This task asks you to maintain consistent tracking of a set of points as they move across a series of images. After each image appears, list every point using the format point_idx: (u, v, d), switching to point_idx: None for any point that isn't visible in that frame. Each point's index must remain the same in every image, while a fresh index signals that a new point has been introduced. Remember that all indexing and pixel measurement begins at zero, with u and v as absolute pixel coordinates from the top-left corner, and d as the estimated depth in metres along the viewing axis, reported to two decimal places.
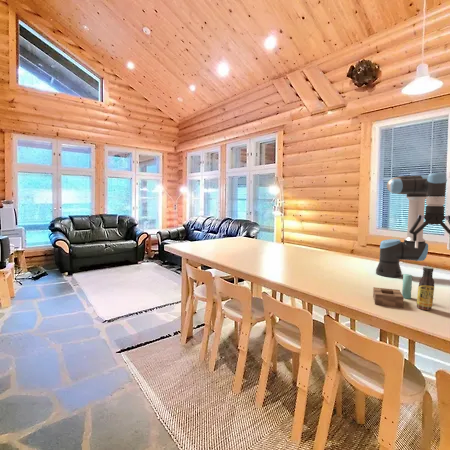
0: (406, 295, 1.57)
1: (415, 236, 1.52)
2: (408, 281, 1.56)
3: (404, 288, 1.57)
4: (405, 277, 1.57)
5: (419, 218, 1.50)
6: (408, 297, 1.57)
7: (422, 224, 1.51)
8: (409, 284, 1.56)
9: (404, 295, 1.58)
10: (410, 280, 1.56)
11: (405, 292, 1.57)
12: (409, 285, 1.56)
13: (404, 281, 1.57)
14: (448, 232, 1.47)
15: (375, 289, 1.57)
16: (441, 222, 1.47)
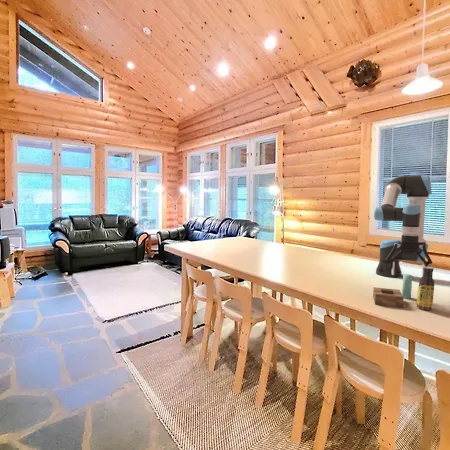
0: (406, 295, 1.57)
1: (391, 263, 1.59)
2: (408, 281, 1.56)
3: (404, 288, 1.57)
4: (405, 277, 1.57)
5: (395, 246, 1.57)
6: (408, 297, 1.57)
7: (398, 252, 1.58)
8: (409, 284, 1.56)
9: (404, 295, 1.58)
10: (410, 280, 1.56)
11: (405, 292, 1.57)
12: (409, 285, 1.56)
13: (404, 281, 1.57)
14: (422, 261, 1.53)
15: (375, 289, 1.57)
16: (415, 251, 1.53)
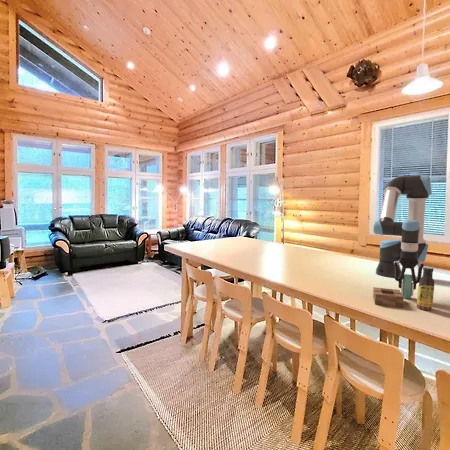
0: (406, 295, 1.57)
1: (400, 283, 1.58)
2: (408, 281, 1.56)
3: (404, 288, 1.57)
4: (405, 277, 1.57)
5: (396, 265, 1.58)
6: (408, 297, 1.57)
7: (401, 270, 1.59)
8: (409, 284, 1.56)
9: (404, 295, 1.58)
10: (410, 280, 1.56)
11: (405, 292, 1.57)
12: (409, 285, 1.56)
13: (404, 281, 1.57)
14: (413, 278, 1.56)
15: (375, 289, 1.57)
16: (412, 267, 1.55)
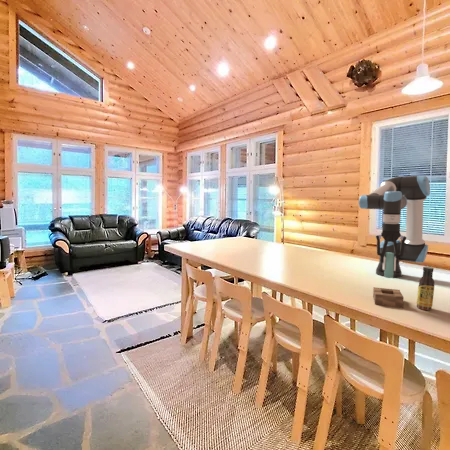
0: (388, 273, 1.50)
1: (382, 258, 1.51)
2: (390, 259, 1.49)
3: (386, 267, 1.50)
4: (387, 255, 1.50)
5: (377, 238, 1.51)
6: (390, 276, 1.50)
7: (383, 244, 1.51)
8: (391, 262, 1.49)
9: (386, 274, 1.51)
10: (392, 258, 1.49)
11: (387, 271, 1.50)
12: (391, 263, 1.49)
13: (386, 259, 1.50)
14: (395, 252, 1.49)
15: (375, 289, 1.57)
16: (394, 240, 1.48)
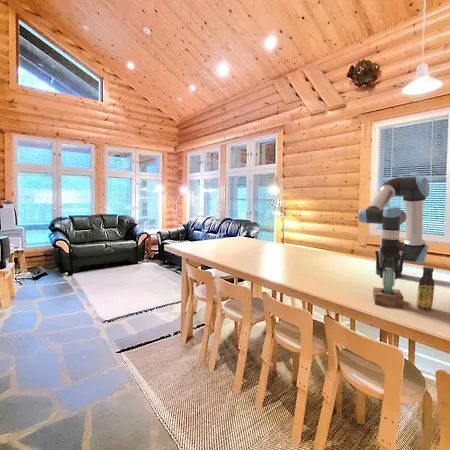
0: (387, 289, 1.51)
1: (381, 273, 1.52)
2: (389, 275, 1.50)
3: (385, 282, 1.51)
4: (386, 271, 1.50)
5: (377, 254, 1.52)
6: (389, 292, 1.50)
7: (383, 259, 1.52)
8: (390, 278, 1.50)
9: (385, 289, 1.51)
10: (391, 274, 1.50)
11: (386, 286, 1.51)
12: (390, 279, 1.50)
13: (385, 275, 1.51)
14: (394, 267, 1.50)
15: (375, 289, 1.57)
16: (393, 256, 1.48)
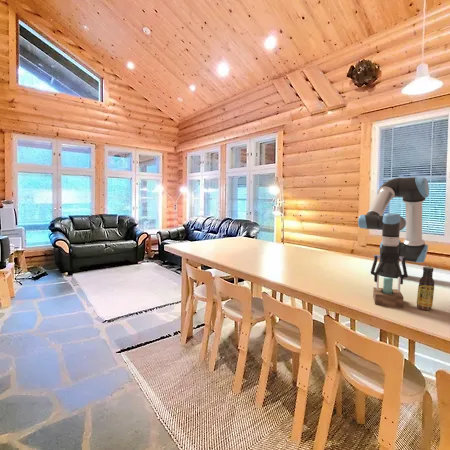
0: None
1: (376, 277, 1.53)
2: (388, 285, 1.50)
3: (384, 292, 1.52)
4: (385, 280, 1.51)
5: (375, 258, 1.52)
6: None
7: (380, 264, 1.53)
8: (389, 288, 1.50)
9: None
10: (390, 283, 1.50)
11: None
12: (389, 289, 1.50)
13: (384, 284, 1.52)
14: (398, 273, 1.49)
15: (375, 289, 1.57)
16: (394, 262, 1.49)
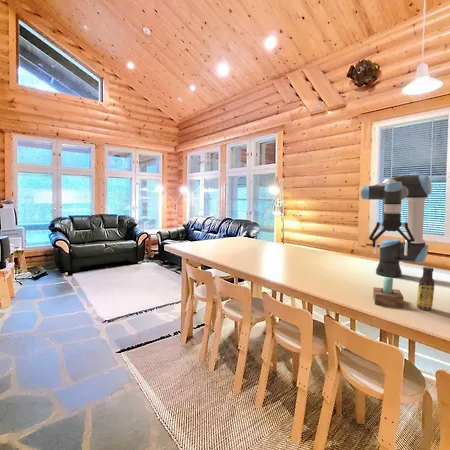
0: None
1: (374, 242, 1.56)
2: (389, 285, 1.50)
3: (384, 292, 1.52)
4: (385, 280, 1.51)
5: (377, 225, 1.54)
6: None
7: (380, 231, 1.56)
8: (389, 288, 1.50)
9: None
10: (390, 283, 1.50)
11: None
12: (389, 289, 1.50)
13: (384, 284, 1.52)
14: (405, 238, 1.51)
15: (375, 289, 1.57)
16: (398, 229, 1.51)
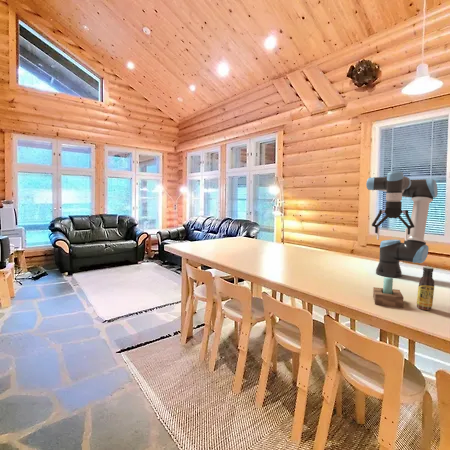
0: None
1: (376, 229, 1.68)
2: (389, 285, 1.50)
3: (384, 292, 1.52)
4: (385, 280, 1.51)
5: (380, 212, 1.66)
6: None
7: (383, 218, 1.67)
8: (389, 288, 1.50)
9: None
10: (390, 283, 1.50)
11: None
12: (389, 289, 1.50)
13: (384, 284, 1.52)
14: (405, 225, 1.63)
15: (375, 289, 1.57)
16: (399, 216, 1.63)
